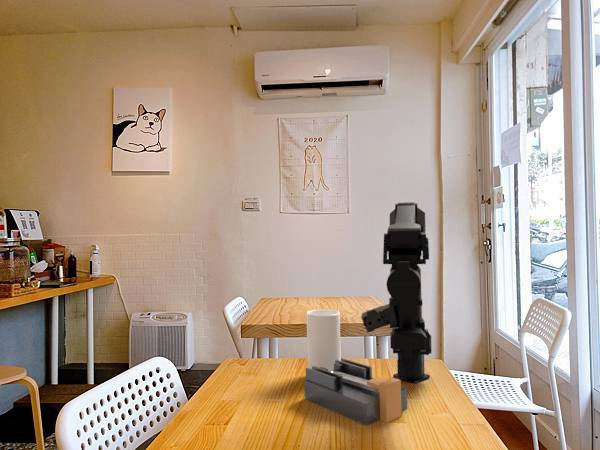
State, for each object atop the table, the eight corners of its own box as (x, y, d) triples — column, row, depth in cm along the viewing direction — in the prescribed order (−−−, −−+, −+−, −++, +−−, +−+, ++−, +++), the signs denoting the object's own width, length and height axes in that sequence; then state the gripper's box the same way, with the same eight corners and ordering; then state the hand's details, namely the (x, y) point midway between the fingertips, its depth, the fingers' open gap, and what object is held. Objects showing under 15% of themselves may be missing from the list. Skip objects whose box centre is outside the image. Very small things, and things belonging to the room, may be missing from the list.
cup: (339, 383, 107) (337, 315, 107) (305, 381, 109) (303, 315, 109) (342, 372, 115) (341, 309, 115) (311, 370, 117) (309, 309, 117)
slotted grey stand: (344, 385, 105) (343, 357, 105) (407, 408, 91) (406, 376, 91) (304, 398, 98) (304, 368, 98) (366, 425, 84) (365, 390, 84)
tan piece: (381, 408, 91) (380, 373, 92) (401, 416, 87) (400, 380, 88) (366, 414, 89) (365, 378, 89) (386, 422, 85) (385, 385, 85)
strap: (324, 376, 99) (324, 372, 99) (334, 374, 101) (333, 369, 101) (374, 392, 88) (374, 387, 88) (384, 389, 90) (383, 384, 90)
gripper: (366, 285, 97) (367, 358, 97) (360, 300, 78) (362, 390, 78) (419, 285, 95) (421, 360, 95) (426, 301, 76) (428, 393, 76)
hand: (407, 374), depth 86 cm, fingers closed
